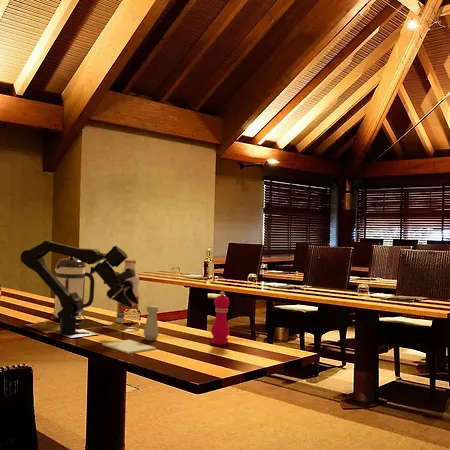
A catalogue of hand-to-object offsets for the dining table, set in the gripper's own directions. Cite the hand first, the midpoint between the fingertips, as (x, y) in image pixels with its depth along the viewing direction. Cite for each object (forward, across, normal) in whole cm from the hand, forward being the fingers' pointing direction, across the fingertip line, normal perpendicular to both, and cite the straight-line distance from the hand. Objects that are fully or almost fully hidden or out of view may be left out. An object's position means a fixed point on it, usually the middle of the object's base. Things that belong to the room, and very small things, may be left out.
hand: (134, 305), depth 210 cm
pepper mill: (+33, +3, -14) cm, 36 cm away
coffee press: (-17, +29, +35) cm, 48 cm away
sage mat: (+11, -16, +7) cm, 20 cm away
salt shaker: (+14, 0, +4) cm, 15 cm away
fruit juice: (+1, +32, +17) cm, 36 cm away
